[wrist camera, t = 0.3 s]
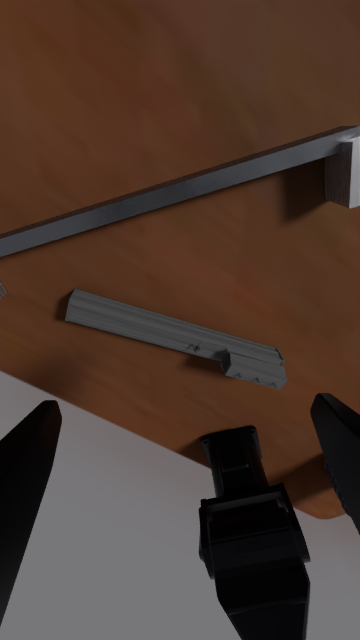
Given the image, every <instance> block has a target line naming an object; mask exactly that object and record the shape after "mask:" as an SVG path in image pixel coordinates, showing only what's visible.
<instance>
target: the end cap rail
mask: <svg viewBox="0 0 360 640" xmlns="http://www.w3.org/2000/svg"><path fill="white" fill-rule="evenodd" d="M323 157H325V199H326V200H329V201H331V202H334V203H336V204H339V205H341V206H344V207H347V208H353V207H356V206H360V126H341V127H338V128H335V129H332V130H329V131H325V132H322V133H319V134H316V135H313V136H310V137H306V138H303V139H300V140H297V141H294V142H291V143H287V144H284V145H281V146H278V147H275V148H272V149H268V150H265V151H262V152H259V153H256V154H253V155H250V156H246V157H243V158H240V159H237V160H234V161H231V162H227V163H224V164H221V165H218V166H215V167H212V168H208V169H205V170H202V171H199V172H196V173H193V174H189V175H186V176H183V177H180V178H177V179H174V180H170V181H167V182H164V183H161V184H158V185H155V186H151V187H148V188H145V189H142V190H139V191H136V192H133V193H129V194H126V195H123V196H120V197H117V198H114V199H110V200H107V201H104V202H101V203H98V204H95V205H91V206H88V207H85V208H82V209H79V210H76V211H72V212H69V213H66V214H63V215H60V216H57V217H53V218H50V219H47V220H44V221H41V222H38V223H34V224H31V225H28V226H25V227H22V228H19V229H16V230H12V231H9V232H6V233H3V234H0V257H2V256H5V255H8V254H11V253H14V252H18V251H21V250H24V249H27V248H31V247H34V246H37V245H40V244H44V243H47V242H50V241H53V240H57V239H60V238H63V237H66V236H70V235H73V234H76V233H79V232H83V231H86V230H89V229H92V228H96V227H99V226H102V225H105V224H109V223H112V222H115V221H118V220H122V219H125V218H128V217H131V216H135V215H138V214H141V213H144V212H148V211H151V210H154V209H157V208H161V207H164V206H167V205H170V204H174V203H177V202H180V201H183V200H187V199H190V198H193V197H196V196H200V195H203V194H206V193H209V192H213V191H216V190H219V189H222V188H226V187H229V186H232V185H235V184H239V183H242V182H245V181H248V180H252V179H255V178H258V177H261V176H265V175H268V174H271V173H274V172H278V171H281V170H284V169H287V168H290V167H294V166H297V165H300V164H303V163H307V162H310V161H313V160H316V159H320V158H323ZM7 293H8V292H7V290H6V289H5V288H4V286H3V285H2V283H1V282H0V300H1V299H2V298H3V297H4V296H5V295H6V294H7Z"/></svg>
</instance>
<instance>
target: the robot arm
mask: <svg viewBox="0 0 360 640" xmlns="http://www.w3.org/2000/svg"><path fill="white" fill-rule="evenodd" d="M310 413H311V417H312V421H313V424H314V427H315V430H316V433H317V436H318V439H319V442H320V445H321V448H322V451H323V453H324V456H325V459H326V461H327V463H328V466H329V468H330V470H331V472H332V474H333V477H334V479H335V481H336V483H337V486H338V488H339V490H340V492H341V495H342V497H343V499H344V501H345V503H346V506H347V508H348V510H349V512H350V515H351V517H352V519H353V521H354V523H355V526H356V528H357V530H358V532H359V535H360V415H359V414H358V413H356V412H355V411H354V410H352V409H351V408H349V407H348V406H347V405H345V404H344V403H342V402H341V401H340V400H338V399H337V398H335V397H334V396H333V395H331V394H329V393H318V394H317V395H316V396H315V399H314V401H313V404H312V407H311V410H310ZM61 424H62V416H61V413H60V409H59V405H58V402H57V401H55V400H45V401H43V402H42V403H40V404H39V405H38V406H37V407H36V408H35V409H34V410H33V411H32V412H31V413H29V414H28V415H27V416H26V417H25V418H24V419H23V420H22V421H21V422H20V423H19V424H18V425H17V426H15V427H14V428H13V429H12V430H11V431H10V432H9V433H8V434H7V435H6V436H5V437H4V438H3V439H1V440H0V626H1V623H2V620H3V617H4V614H5V611H6V608H7V605H8V601H9V599H10V595H11V592H12V589H13V586H14V583H15V580H16V577H17V574H18V571H19V568H20V565H21V562H22V559H23V556H24V553H25V550H26V547H27V543H28V540H29V537H30V534H31V531H32V528H33V525H34V522H35V519H36V516H37V513H38V510H39V507H40V503H41V501H42V497H43V495H44V492H45V489H46V485H47V482H48V479H49V476H50V473H51V470H52V466H53V462H54V457H55V452H56V447H57V443H58V438H59V433H60V428H61ZM201 444H202V447H203V449H204V452H205V454H206V457H207V459H208V462H209V464H210V467H211V469H212V476H213V482H214V488H215V494H216V498H211V499H207V500H206V499H201V507H200V508H199V517H200V541H199V556H200V559H201V560H202V561H203V562H204V563H205V566H206V568H207V571H208V574H209V576H210V579H211V580H212V579H215V585H216V592H217V597H218V600H219V602H220V604H221V606H222V607H223V609H224V611H225V612H226V614H227V616H228V617H229V619H230V621H231V622H232V624H233V626H234V627H235V629H236V631H237V632H238V634H239V636H240V638H241V639H242V640H306V635H307V624H308V614H309V613H308V612H309V602H310V581H309V577H308V574H307V572H306V568H305V565H304V563H307V562H310V556H309V552H308V549H307V545H306V542H305V539H304V536H303V533H302V530H301V527H300V525H299V522H298V519H297V517H296V514H295V512H294V509H293V507H292V504H291V502H290V499H289V497H288V494H287V492H286V489H285V487H284V484H283V483H278V485H274V486H269V485H268V482H267V478H266V475H265V472H264V469H263V466H262V463H261V458H262V455H261V450H260V445H259V440H258V435H257V431H256V428H255V427H254V426H250V427H245V428H241V429H236V430H232V431H227V432H223V433H219V434H214V435H210V436H205V437H202V438H201Z"/></svg>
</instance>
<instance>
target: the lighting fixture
mask: <svg viewBox="0 0 360 640" xmlns="http://www.w3.org/2000/svg"><path fill="white" fill-rule="evenodd" d="M65 321H71V322H74V323H78V324H82V325H85V326H89V327H93V328H97V329H100V330H104V331H108V332H112V333H115V334H119V335H123V336H126V337H130V338H134V339H138V340H141V341H145V342H149V343H152V344H156V345H160V346H164V347H167V348H171V349H175V350H179V351H182V352H186V353H190V354H193V355H197V356H201V357H205V358H208V359H212V360H216V361H219V362H221V366H220V368H221V369H222V370H223V372H224V373H225V375H226V376H230V377H234V378H237V379H241V380H245V381H249V382H253V383H257V384H261V385H265V386H269V387H273V388H276V389H281V388H282V387H283V386H284V384H285V383H286V382H287V378H286V374H285V368H284V367H283V366H282V364H283V363H284V362H285V360H284V358H283V356H282V355H281V353H280V351H279V349H278V348H277V349H276V348H272V347H269V346H266V345H262V344H259V343H256V342H252V341H249V340H245V339H242V338H239V337H235V336H232V335H229V334H225V333H222V332H219V331H215V330H212V329H208V328H205V327H202V326H198V325H195V324H192V323H188V322H185V321H182V320H178V319H175V318H171V317H168V316H165V315H161V314H158V313H155V312H151V311H148V310H145V309H141V308H138V307H134V306H131V305H128V304H124V303H121V302H118V301H114V300H111V299H107V298H104V297H101V296H97V295H94V294H91V293H87V292H84V291H81V290H77V289H76V288H75V289H74V291H73V293H72V295H71V297H70V299H69V303H68V308H67V312H66V317H65Z"/></svg>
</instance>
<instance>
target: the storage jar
mask: <svg viewBox="0 0 360 640" xmlns="http://www.w3.org/2000/svg"><path fill="white" fill-rule="evenodd" d="M324 468H325V470H326V472H327V474H328V475H329V476H330V480H331V483H332V485H333V488H334V491H335V493H336V495H337V497H338V499H339V500H340V502H341V505H342V508H343V509H344V510H345V512H346V514H347V515H349V516H350V517H351V515H350V512H349V510H348V508H347V506H346V503H345V501H344V499H343V497H342V495H341V492H340V490H339V488H338V486H337V483H336V481H335V479H334V477H333V474H332V472H331V470H330V468H329V466H328V463H327V461H326V459H325V462H324ZM351 518H352V517H351ZM352 520H353V519H352ZM353 522H354V521H353ZM354 524H355V523H354Z"/></svg>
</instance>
